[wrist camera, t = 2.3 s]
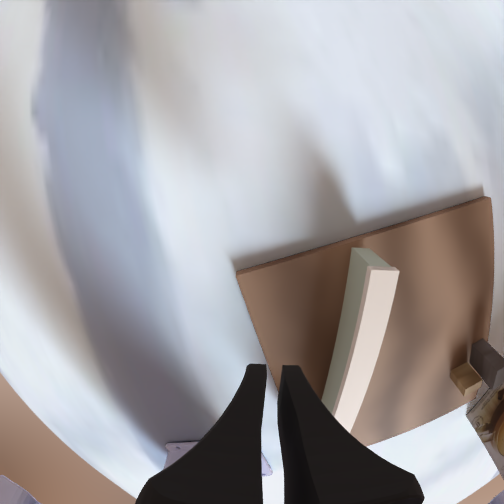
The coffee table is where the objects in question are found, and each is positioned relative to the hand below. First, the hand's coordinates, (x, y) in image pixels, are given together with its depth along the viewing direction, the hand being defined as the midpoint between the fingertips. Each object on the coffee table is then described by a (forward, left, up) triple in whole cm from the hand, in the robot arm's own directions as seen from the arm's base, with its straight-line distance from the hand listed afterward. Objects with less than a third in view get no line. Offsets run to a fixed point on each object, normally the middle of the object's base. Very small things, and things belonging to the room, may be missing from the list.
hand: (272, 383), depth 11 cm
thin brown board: (+8, -9, -9) cm, 16 cm away
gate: (+4, -6, -8) cm, 11 cm away
